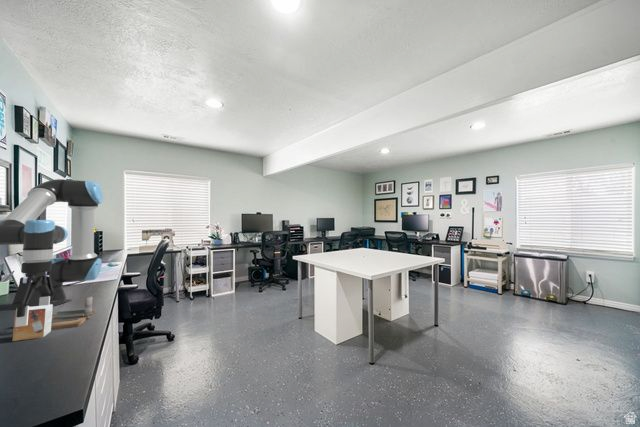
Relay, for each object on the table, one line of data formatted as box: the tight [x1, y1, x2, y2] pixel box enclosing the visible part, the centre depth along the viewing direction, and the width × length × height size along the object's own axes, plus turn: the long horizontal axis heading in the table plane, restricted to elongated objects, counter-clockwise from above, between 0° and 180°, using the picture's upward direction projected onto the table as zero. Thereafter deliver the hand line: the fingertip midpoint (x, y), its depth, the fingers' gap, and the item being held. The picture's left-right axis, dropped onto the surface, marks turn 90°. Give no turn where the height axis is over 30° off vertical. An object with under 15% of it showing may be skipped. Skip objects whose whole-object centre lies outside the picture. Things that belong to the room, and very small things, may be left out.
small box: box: [12, 304, 54, 342], centre depth 92 cm, size 8×6×10 cm
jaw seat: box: [51, 296, 96, 331], centre depth 106 cm, size 18×17×9 cm
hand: (33, 319), depth 92 cm, fingers open, 13 cm apart
